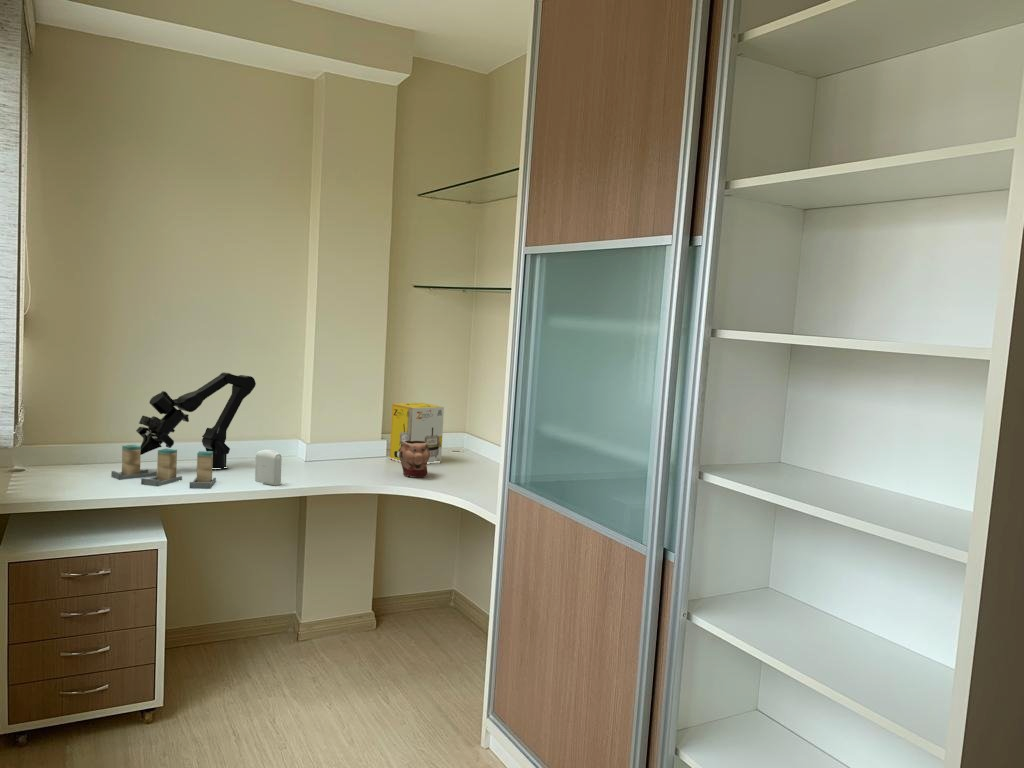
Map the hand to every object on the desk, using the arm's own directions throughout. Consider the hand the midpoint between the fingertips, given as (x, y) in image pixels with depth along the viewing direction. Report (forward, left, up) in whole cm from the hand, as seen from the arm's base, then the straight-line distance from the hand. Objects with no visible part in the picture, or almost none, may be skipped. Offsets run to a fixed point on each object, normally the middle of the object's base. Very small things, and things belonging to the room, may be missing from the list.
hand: (138, 454), depth 296 cm
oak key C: (-10, +25, -8) cm, 28 cm away
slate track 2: (0, +14, -8) cm, 17 cm away
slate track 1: (+1, 0, -8) cm, 8 cm away
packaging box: (-106, +40, -9) cm, 114 cm away
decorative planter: (-82, +60, -9) cm, 102 cm away
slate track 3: (-8, +27, -8) cm, 29 cm away
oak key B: (-3, +14, -8) cm, 16 cm away
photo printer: (-28, +37, -9) cm, 47 cm away
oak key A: (+2, 0, -8) cm, 8 cm away
